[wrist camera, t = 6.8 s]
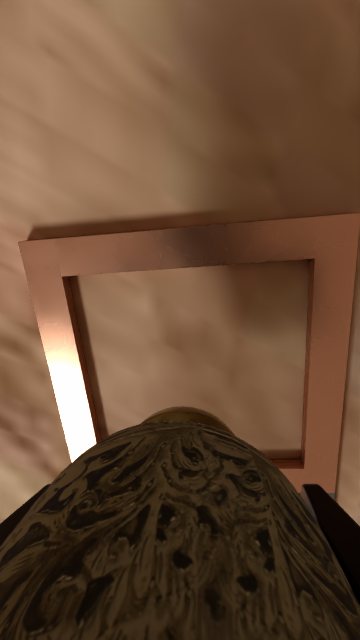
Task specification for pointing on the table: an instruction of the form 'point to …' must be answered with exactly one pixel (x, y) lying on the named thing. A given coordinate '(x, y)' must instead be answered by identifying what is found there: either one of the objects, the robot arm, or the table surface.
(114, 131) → the table surface
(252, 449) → the dark ridged bell shape
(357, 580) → the robot arm
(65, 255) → the rectangular frame
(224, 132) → the table surface
